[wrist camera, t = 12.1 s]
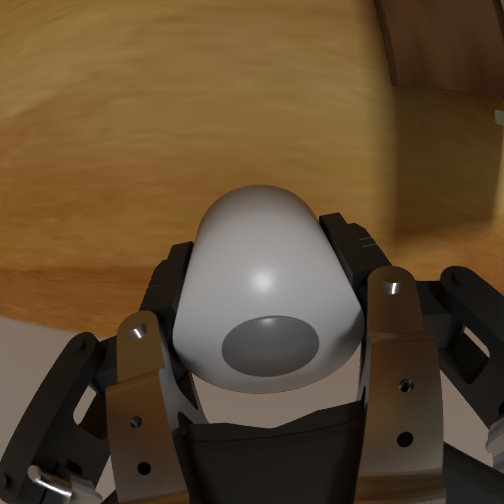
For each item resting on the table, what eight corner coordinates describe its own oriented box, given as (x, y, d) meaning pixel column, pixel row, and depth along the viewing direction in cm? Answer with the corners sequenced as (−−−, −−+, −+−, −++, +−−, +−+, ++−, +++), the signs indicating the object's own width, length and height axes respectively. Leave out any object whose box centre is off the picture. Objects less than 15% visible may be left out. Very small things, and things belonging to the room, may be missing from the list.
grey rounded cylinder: (180, 201, 10) (137, 296, 5) (313, 173, 9) (373, 252, 5) (216, 299, 12) (208, 402, 8) (323, 279, 12) (357, 378, 8)
